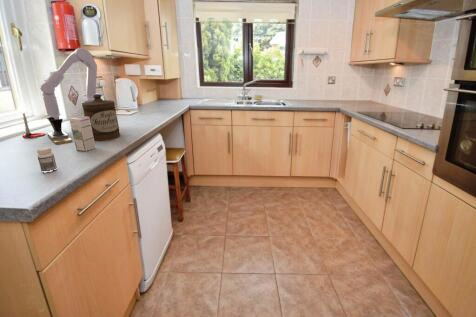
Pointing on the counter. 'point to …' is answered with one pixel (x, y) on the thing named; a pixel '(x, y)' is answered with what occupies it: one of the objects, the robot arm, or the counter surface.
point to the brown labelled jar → (102, 118)
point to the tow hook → (28, 134)
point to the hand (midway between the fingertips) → (57, 130)
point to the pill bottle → (46, 159)
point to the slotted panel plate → (59, 137)
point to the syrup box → (82, 133)
